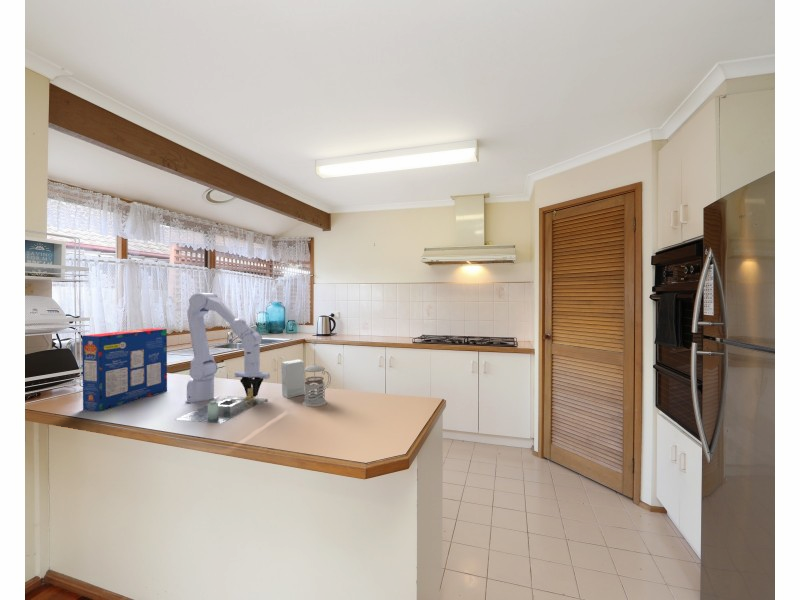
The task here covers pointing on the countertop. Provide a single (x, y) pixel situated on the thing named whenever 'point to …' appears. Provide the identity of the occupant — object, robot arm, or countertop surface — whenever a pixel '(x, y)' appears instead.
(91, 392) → the blue flat upright box
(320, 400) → the french press
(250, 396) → the pin
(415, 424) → the countertop surface
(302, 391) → the skincare box
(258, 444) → the countertop surface
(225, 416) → the dock
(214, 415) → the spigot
